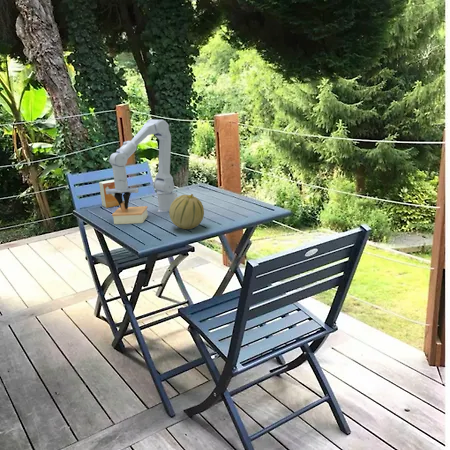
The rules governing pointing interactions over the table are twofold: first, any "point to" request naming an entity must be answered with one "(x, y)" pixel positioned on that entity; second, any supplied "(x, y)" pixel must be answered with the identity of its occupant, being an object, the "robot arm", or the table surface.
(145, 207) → the lid
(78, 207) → the table surface
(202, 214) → the cantaloupe
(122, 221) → the tub
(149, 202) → the table surface
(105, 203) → the small box
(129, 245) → the table surface
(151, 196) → the table surface
